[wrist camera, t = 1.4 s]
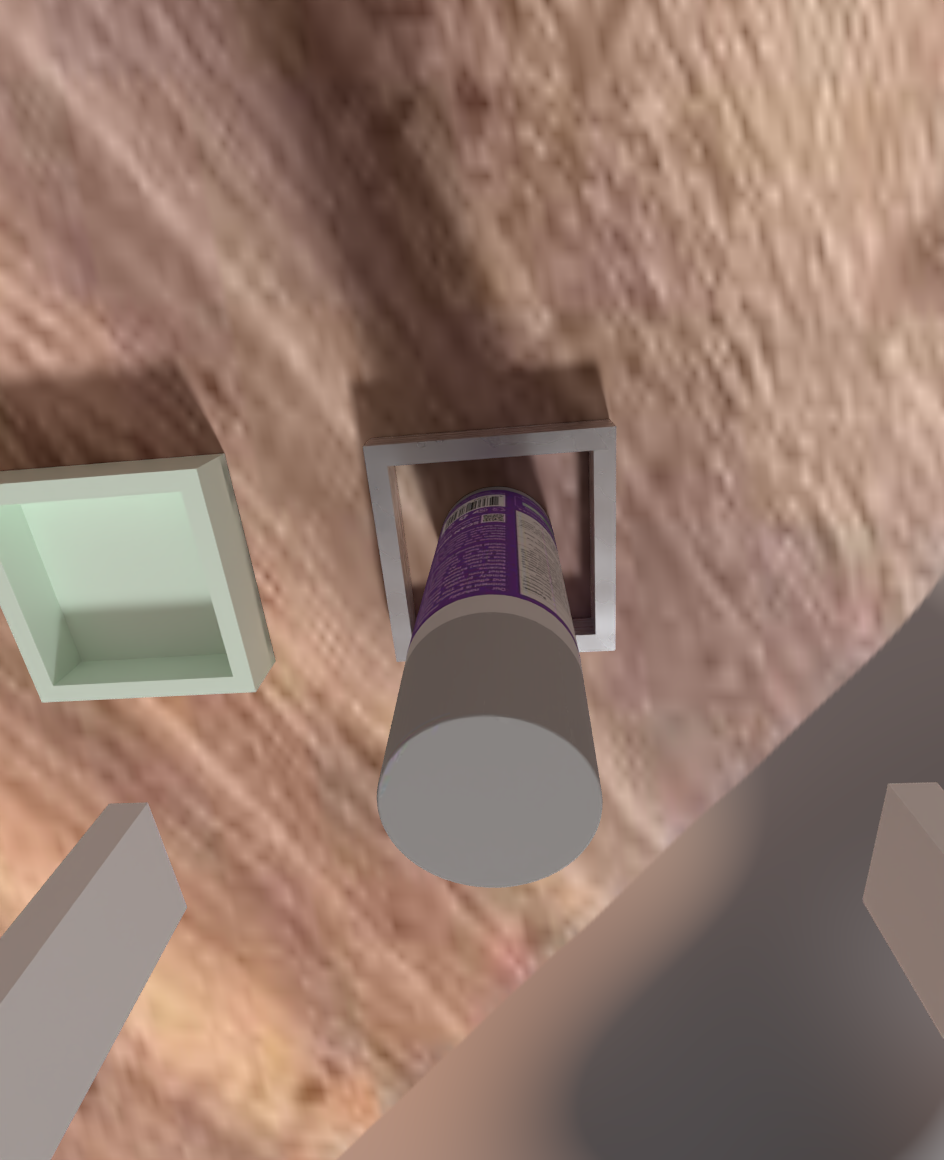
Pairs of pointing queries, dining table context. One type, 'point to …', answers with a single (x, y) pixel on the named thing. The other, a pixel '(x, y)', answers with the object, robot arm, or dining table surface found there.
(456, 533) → the container
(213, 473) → the tray
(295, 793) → the dining table surface
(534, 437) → the collar
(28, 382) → the dining table surface
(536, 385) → the dining table surface
